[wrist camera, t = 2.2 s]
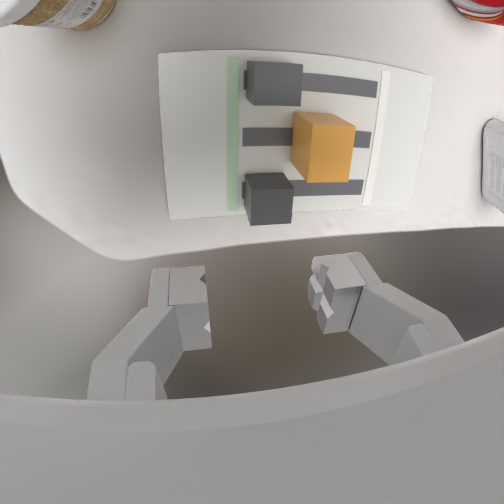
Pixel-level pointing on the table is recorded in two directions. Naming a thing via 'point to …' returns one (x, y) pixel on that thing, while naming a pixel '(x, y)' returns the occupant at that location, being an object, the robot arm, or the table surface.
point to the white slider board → (284, 132)
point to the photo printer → (493, 163)
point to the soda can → (482, 10)
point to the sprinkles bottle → (55, 13)
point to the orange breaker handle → (322, 147)
